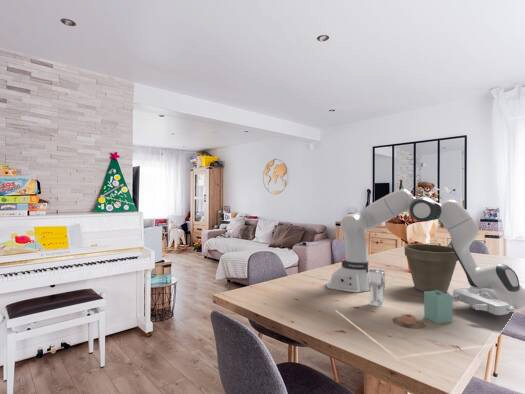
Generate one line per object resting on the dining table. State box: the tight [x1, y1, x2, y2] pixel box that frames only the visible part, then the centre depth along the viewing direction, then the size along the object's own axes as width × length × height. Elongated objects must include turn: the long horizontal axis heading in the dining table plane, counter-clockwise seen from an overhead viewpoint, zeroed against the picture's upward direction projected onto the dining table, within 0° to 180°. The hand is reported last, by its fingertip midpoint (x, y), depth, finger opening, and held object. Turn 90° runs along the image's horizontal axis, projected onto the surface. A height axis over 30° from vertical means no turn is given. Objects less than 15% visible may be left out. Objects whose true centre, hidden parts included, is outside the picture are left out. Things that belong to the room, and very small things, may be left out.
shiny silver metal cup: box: [368, 268, 386, 307], centre depth 134 cm, size 7×7×15 cm
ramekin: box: [401, 313, 417, 325], centre depth 113 cm, size 3×3×2 cm
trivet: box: [392, 316, 426, 330], centre depth 113 cm, size 11×11×1 cm
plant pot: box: [404, 243, 459, 293], centre depth 156 cm, size 25×25×22 cm
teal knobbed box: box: [423, 290, 453, 324], centre depth 116 cm, size 7×7×11 cm
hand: (463, 302), depth 119 cm, fingers open, 8 cm apart
